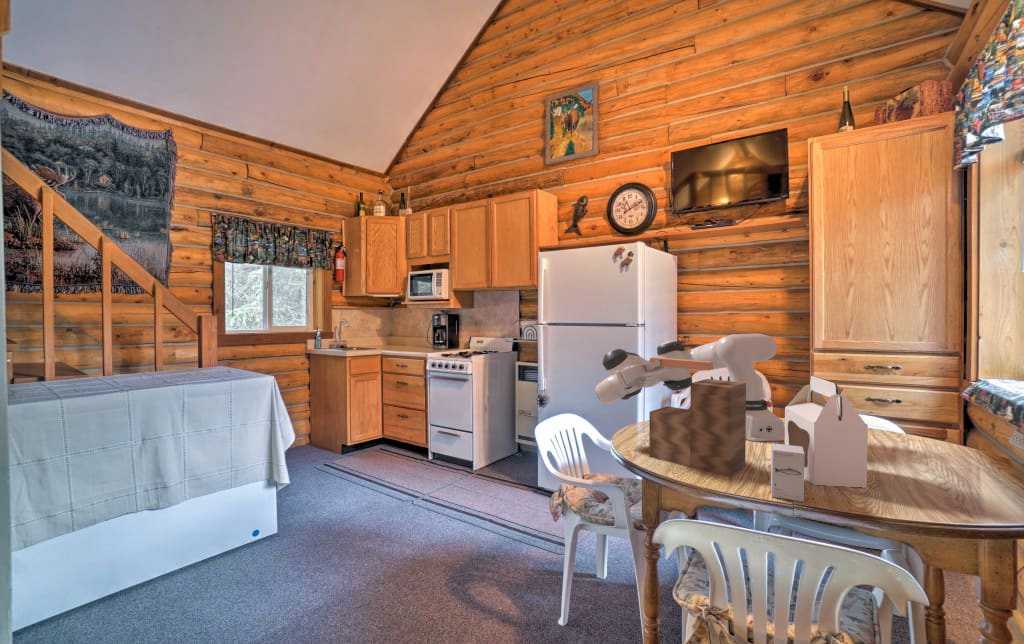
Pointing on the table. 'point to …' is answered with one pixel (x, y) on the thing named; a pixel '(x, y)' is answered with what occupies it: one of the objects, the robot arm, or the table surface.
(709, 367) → the bar
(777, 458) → the supplement box
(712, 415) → the stepped stand
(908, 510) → the table surface
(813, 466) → the gable box
